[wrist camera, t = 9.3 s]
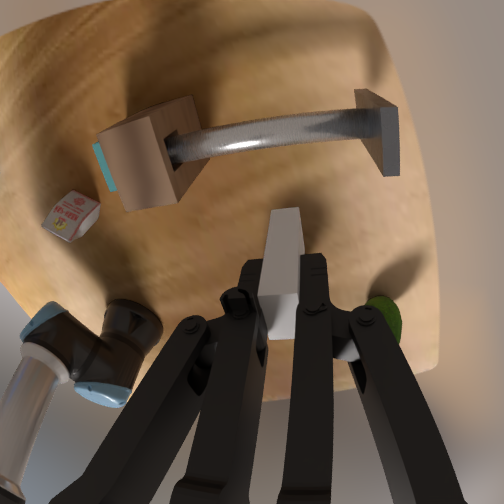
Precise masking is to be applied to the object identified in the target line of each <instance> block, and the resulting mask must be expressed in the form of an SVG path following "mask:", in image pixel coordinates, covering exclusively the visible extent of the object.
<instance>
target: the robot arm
mask: <svg viewBox="0 0 504 504" xmlns="http://www.w3.org/2000/svg"><path fill="white" fill-rule="evenodd" d="M220 301H221V304H222V306H223V309H224V312H225V315H223V316H221V317H219V318H216V319H212V320H209V321H206V320H205V319H204V318H203V317H201V316H199V315H193V316H189V317H187V318H185V319H183V320H182V321H181V322H180V323H179V324H178V326H177V327H176V329H175V330H174V332H173V333H172V335H171V336H170V338H169V339H168V341H167V342H166V344H165V345H164V347H163V348H162V350H161V351H160V353H159V355H158V356H157V358H156V359H155V361H154V362H153V364H152V365H151V367H150V368H149V370H148V371H147V373H146V375H145V376H144V378H143V379H142V381H141V382H140V384H139V385H138V387H137V388H136V390H135V392H134V393H133V395H132V396H131V398H130V399H129V401H128V403H127V404H126V402H127V400H128V398H129V395H130V394H131V393H132V389H133V386H134V383H135V381H136V378H137V376H138V373H139V371H140V368H141V365H142V363H143V361H144V358H145V356H146V355H147V354H148V353H149V352H150V350H151V349H152V348H153V347H154V346H155V345H157V343H158V342H159V341H160V339H161V336H162V334H163V327H162V324H161V322H160V321H159V319H158V318H157V317H156V316H155V315H154V314H153V313H152V312H151V311H149V310H148V309H147V308H145V307H143V306H141V305H140V304H137V303H135V302H132V301H129V300H122V299H120V300H114V301H112V302H111V303H110V304H109V306H108V307H107V309H106V311H105V315H104V322H103V327H102V333H101V335H100V337H98V336H97V335H96V334H94V333H93V332H92V331H91V330H89V329H88V328H87V327H86V326H84V325H83V324H82V323H81V322H80V321H78V320H77V319H76V318H75V317H74V316H72V315H71V314H70V313H69V311H68V310H66V309H64V308H63V307H62V306H60V305H59V304H58V303H57V302H54V301H51V302H48V303H47V304H46V305H44V306H43V307H42V308H41V309H40V310H39V311H38V312H37V314H36V315H35V316H34V317H33V318H32V320H31V321H30V322H29V323H28V324H27V325H26V327H25V328H24V329H23V331H22V332H21V334H20V339H21V340H22V342H23V344H22V345H21V348H20V351H21V355H22V358H23V359H22V360H21V362H20V364H19V366H18V368H17V369H16V371H15V373H14V375H13V377H12V379H11V381H10V382H9V384H8V386H7V389H6V390H5V392H4V394H3V396H2V398H1V400H0V504H25V501H26V498H25V497H24V495H23V493H22V491H21V488H20V485H21V482H22V478H23V475H24V472H25V469H26V466H27V463H28V460H29V457H30V453H31V451H32V448H33V445H34V443H35V440H36V437H37V435H38V432H39V429H40V427H41V424H42V422H43V419H44V416H45V414H46V412H47V409H48V407H49V405H50V402H51V400H52V398H53V395H54V393H55V390H56V388H57V386H58V384H61V383H66V382H67V381H68V380H69V378H71V379H72V380H73V381H75V384H74V389H75V391H76V392H77V393H79V394H80V395H81V396H83V397H84V398H86V399H88V400H90V401H92V402H95V403H98V404H100V405H104V406H107V407H113V408H118V407H122V406H124V405H125V404H126V406H125V407H124V409H123V410H122V412H121V414H120V415H119V417H118V418H117V420H116V421H115V423H114V425H113V426H112V428H111V429H110V431H109V433H108V434H107V436H106V438H105V439H104V441H103V442H102V444H101V445H100V447H99V449H98V451H97V452H96V454H95V455H94V457H93V458H92V460H91V462H90V463H89V465H88V467H87V468H86V470H85V472H84V473H83V475H82V476H81V477H80V478H78V479H77V480H76V481H74V482H73V483H72V484H71V485H69V486H68V487H67V488H66V489H64V490H63V491H61V492H60V493H59V494H58V495H56V496H55V497H54V498H52V499H51V501H50V502H49V504H149V503H150V501H151V500H152V498H153V496H154V495H155V493H156V491H157V489H158V487H159V486H160V484H161V482H162V480H163V479H164V477H165V475H166V473H167V471H168V470H169V468H170V466H171V464H172V462H173V460H174V459H175V457H176V455H177V453H178V451H179V449H180V448H181V446H182V444H183V442H184V440H185V438H186V436H187V435H188V433H189V431H190V429H191V427H192V425H193V423H194V421H195V419H196V418H197V416H198V414H199V412H200V416H199V420H198V424H197V428H196V432H195V436H194V440H193V444H192V448H191V452H190V457H189V461H188V465H187V469H186V473H185V475H184V477H183V478H182V479H181V480H179V481H178V482H177V483H176V484H175V486H174V489H173V492H172V495H171V499H170V503H169V504H250V502H249V488H250V481H251V475H252V468H253V462H254V454H255V448H256V441H257V434H258V426H259V419H260V412H261V403H262V397H263V389H264V381H265V373H266V365H267V357H268V345H267V334H268V336H269V340H278V339H295V340H294V357H293V372H292V386H291V399H290V411H289V422H288V433H287V443H286V453H285V462H284V472H283V480H282V487H281V490H280V493H279V495H278V499H277V504H330V503H331V483H332V462H333V460H332V459H333V418H334V415H333V414H334V412H333V411H334V409H333V408H334V399H333V358H336V359H340V360H345V361H347V362H348V365H349V367H350V370H351V373H352V376H353V378H354V381H355V384H356V387H357V390H358V393H359V395H360V398H361V401H362V404H363V407H364V410H365V413H366V416H367V419H368V421H369V425H370V428H371V431H372V434H373V437H374V440H375V443H376V446H377V449H378V452H379V456H380V459H381V462H382V465H383V469H384V472H385V475H386V479H387V482H388V485H389V489H390V492H391V496H392V499H393V503H394V504H468V503H467V502H466V501H465V500H464V498H463V494H462V492H461V489H460V486H459V483H458V480H457V477H456V474H455V471H454V469H453V466H452V463H451V461H450V458H449V455H448V453H447V450H446V448H445V445H444V442H443V440H442V438H441V435H440V433H439V430H438V428H437V425H436V423H435V421H434V419H433V416H432V414H431V411H430V409H429V407H428V405H427V402H426V401H425V398H424V396H423V394H422V391H421V390H420V387H419V385H418V383H417V381H416V379H415V376H414V374H413V372H412V370H411V368H410V366H409V364H408V362H407V360H406V358H405V356H404V354H403V352H402V350H401V348H400V346H399V344H398V342H397V340H396V338H395V336H394V334H393V332H392V330H391V329H390V327H389V325H388V323H387V321H386V319H385V317H384V315H383V314H382V312H381V311H380V310H379V309H378V308H376V307H374V306H370V305H363V306H359V307H357V308H354V310H353V311H352V312H350V311H344V310H341V309H338V308H337V307H335V306H334V305H333V304H332V303H331V301H330V298H329V286H328V274H327V263H326V258H325V257H324V256H323V255H322V253H314V254H305V247H304V240H303V232H302V225H301V218H300V211H299V207H293V208H284V209H275V210H271V216H270V222H269V228H268V235H267V241H266V247H265V253H264V259H253V260H248V261H247V262H246V263H245V264H244V265H243V267H242V270H241V274H240V278H239V282H238V286H237V287H233V288H231V289H229V290H227V291H225V292H224V293H223V294H222V296H221V297H220ZM200 410H201V411H200Z"/></svg>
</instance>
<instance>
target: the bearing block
mask: <svg viewBox="0 0 504 504" xmlns="http://www.w3.org/2000/svg"><path fill="white" fill-rule="evenodd" d="M198 130H202V129H201V125H200V122H199V118H198V114H197V111H196V107H195V103H194V99H193V96H192V95H189V96H185V97H182V98H178V99H175V100H171V101H168V102H164V103H161V104H158V105H155V106H151V107H148V108H146V109H144V110H142V111H140V112H138V113H136V114H134V115H132V116H130V117H128V118H126V119H124V120H122V121H120V122H118V123H116V124H114V125H113V126H111V127H109V128H107V129H105V130H103V131H102V132H100V133H98V134H96V136H97V138H98V141H99V144H100V147H101V150H102V152H103V155H104V158H105V160H106V163H107V166H108V168H109V171H110V173H111V176H112V178H113V181H114V183H115V186H116V188H117V191H118V193H119V196H120V198H121V201H122V203H123V205H124V208H125V210H126V212H129V211H135V210H140V209H146V208H152V207H158V206H164V205H170V204H176V203H178V202H179V201H180V199H181V198H182V197H183V195H184V194H185V192H186V191H187V190H188V188H189V187H190V185H191V184H192V183H193V181H194V180H195V179H196V177H197V176H198V175H199V173H200V172H201V170H202V169H203V168H204V166H205V165H206V164H207V162H208V161H209V160H210V158H204V159H199V160H194V161H189V162H184V163H179V164H174V165H172V164H171V161H170V158H169V155H168V152H167V149H166V146H165V143H164V138H168V137H172V136H176V135H180V134H185V133H189V132H193V131H198Z"/></svg>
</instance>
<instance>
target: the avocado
mask: <svg viewBox="0 0 504 504" xmlns="http://www.w3.org/2000/svg"><path fill="white" fill-rule="evenodd" d="M365 305H370V306H374V307H376V308H378V309H379V310H380V311H381V312H382V314H383V315H384V317H385V319H386V321H387V323H388V325H389V327H390V329H391V330H392V332H393V334H394V336H395V338H396V340H397V342H398V344H399V343H400V339H401V331H402V319H401V315H400V311H399V308H398V307H397V305H396V304H395V303H394V301H393V300H391V299H390V298H388V297H385V296H378V297H374V298H372V299H370V300H368V302H367V303H366V304H365Z"/></svg>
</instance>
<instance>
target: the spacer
mask: <svg viewBox="0 0 504 504" xmlns="http://www.w3.org/2000/svg"><path fill="white" fill-rule="evenodd" d="M92 146H93V149H94V151H95V154H96V157H97V159H98V162H99V165H100V167H101V170H102V172H103V175H104V177H105V180H106V182H107V185H108V187H109V190H110V192H113V191H117V188H116V186H115V183H114V181H113V178H112V176H111V173H110V171H109V168H108V166H107V163H106V160H105V158H104V155H103V152H102V150H101V147H100V144H99V141H98V142H96V143H95V144H93V145H92Z"/></svg>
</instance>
